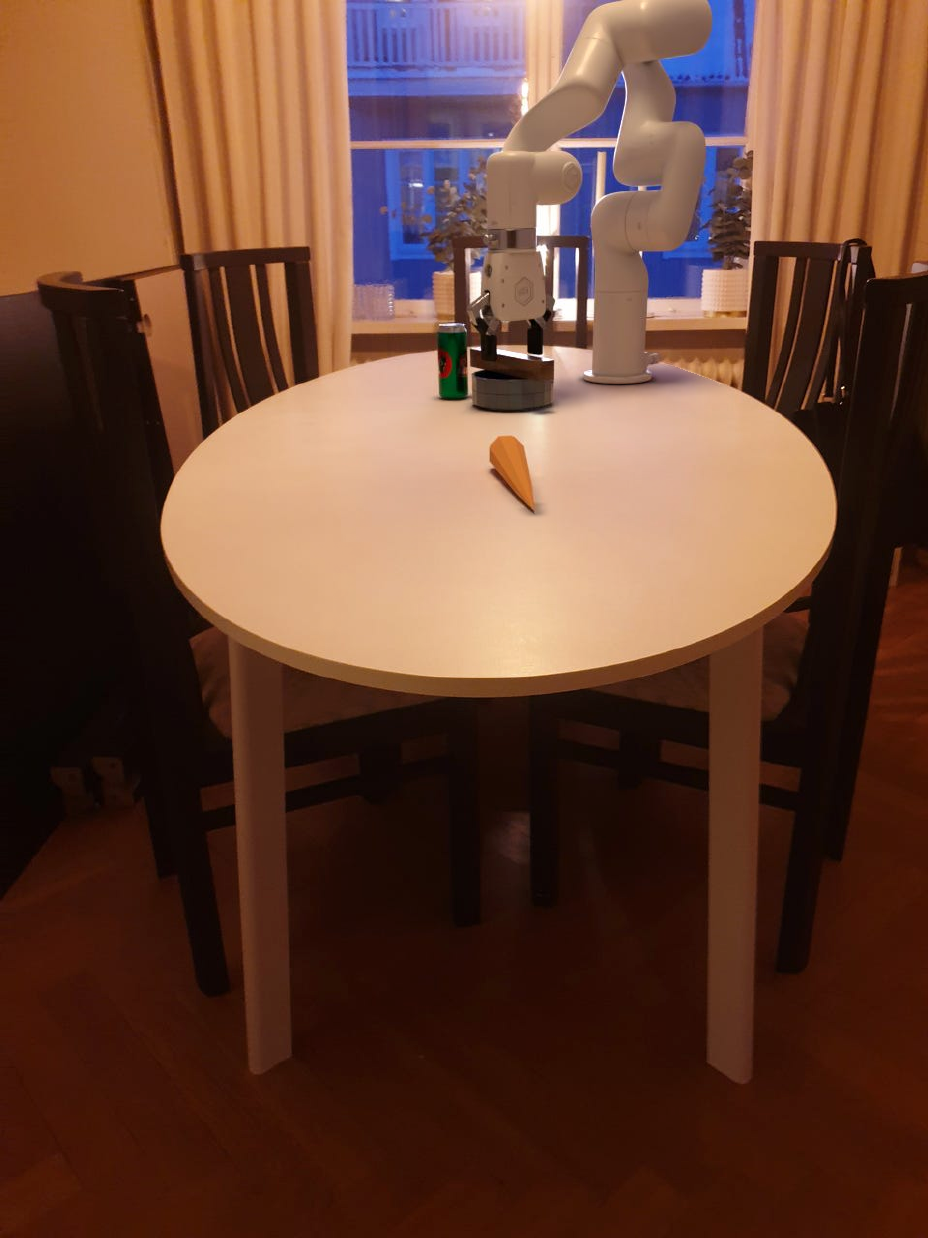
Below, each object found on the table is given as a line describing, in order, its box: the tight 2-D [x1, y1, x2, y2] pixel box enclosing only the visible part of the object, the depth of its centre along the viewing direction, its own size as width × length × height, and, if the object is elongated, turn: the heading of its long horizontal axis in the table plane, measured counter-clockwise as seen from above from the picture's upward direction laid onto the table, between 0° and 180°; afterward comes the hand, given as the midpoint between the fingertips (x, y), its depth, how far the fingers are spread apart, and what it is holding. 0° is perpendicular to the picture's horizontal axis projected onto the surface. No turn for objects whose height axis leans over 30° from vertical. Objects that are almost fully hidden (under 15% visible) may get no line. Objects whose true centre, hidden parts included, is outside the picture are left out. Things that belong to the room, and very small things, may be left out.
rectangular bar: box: [469, 346, 555, 382], centre depth 146 cm, size 3×20×3 cm, turn 31°
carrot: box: [489, 435, 535, 511], centre depth 102 cm, size 20×4×4 cm, turn 7°
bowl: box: [471, 369, 555, 412], centre depth 147 cm, size 13×13×5 cm
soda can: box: [436, 322, 469, 401], centre depth 152 cm, size 5×5×12 cm
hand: (512, 357), depth 145 cm, fingers open, 9 cm apart
